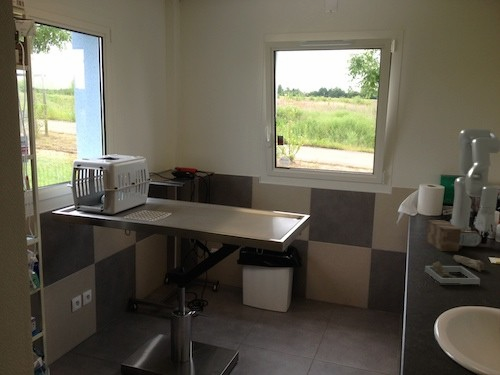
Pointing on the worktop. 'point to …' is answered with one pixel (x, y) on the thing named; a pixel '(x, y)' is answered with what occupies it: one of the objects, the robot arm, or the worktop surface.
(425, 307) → the worktop surface
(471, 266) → the bone fragment
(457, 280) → the frame
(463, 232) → the tin
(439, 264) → the vertebra
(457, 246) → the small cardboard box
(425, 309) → the worktop surface
